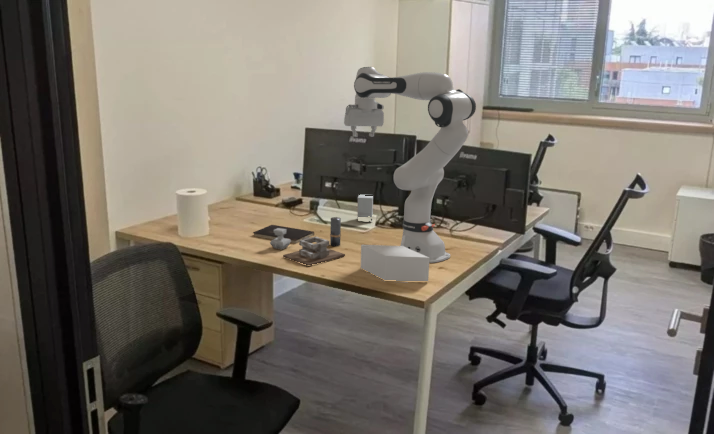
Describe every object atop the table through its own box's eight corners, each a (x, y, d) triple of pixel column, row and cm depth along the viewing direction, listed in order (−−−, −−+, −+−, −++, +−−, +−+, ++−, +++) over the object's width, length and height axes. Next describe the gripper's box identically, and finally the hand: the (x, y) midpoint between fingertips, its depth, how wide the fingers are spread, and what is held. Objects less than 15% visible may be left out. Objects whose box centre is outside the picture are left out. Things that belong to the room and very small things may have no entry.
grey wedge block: (420, 289, 241) (421, 263, 238) (351, 274, 254) (351, 249, 252) (435, 277, 253) (437, 252, 250) (369, 264, 267) (370, 239, 264)
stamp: (282, 252, 279) (281, 233, 277) (268, 249, 281) (268, 230, 279) (292, 246, 287) (292, 227, 285) (279, 244, 289) (279, 225, 287)
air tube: (342, 245, 290) (343, 218, 287) (335, 247, 287) (335, 220, 284) (335, 242, 293) (335, 216, 290) (327, 244, 290) (328, 218, 287)
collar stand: (345, 256, 275) (345, 240, 273) (308, 266, 261) (308, 250, 259) (319, 247, 286) (319, 232, 284) (283, 257, 272) (283, 241, 270)
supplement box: (372, 219, 334) (373, 194, 331) (371, 222, 327) (372, 198, 323) (358, 218, 335) (358, 194, 331) (356, 222, 327) (357, 197, 324)
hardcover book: (296, 244, 291) (296, 239, 290) (252, 237, 301) (252, 232, 300) (314, 235, 305) (314, 231, 304) (272, 228, 314) (272, 224, 314)
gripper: (350, 104, 280) (349, 137, 283) (386, 105, 293) (385, 137, 296) (341, 104, 285) (340, 136, 288) (377, 105, 298) (375, 136, 300)
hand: (363, 136), depth 292 cm, fingers open, 8 cm apart
